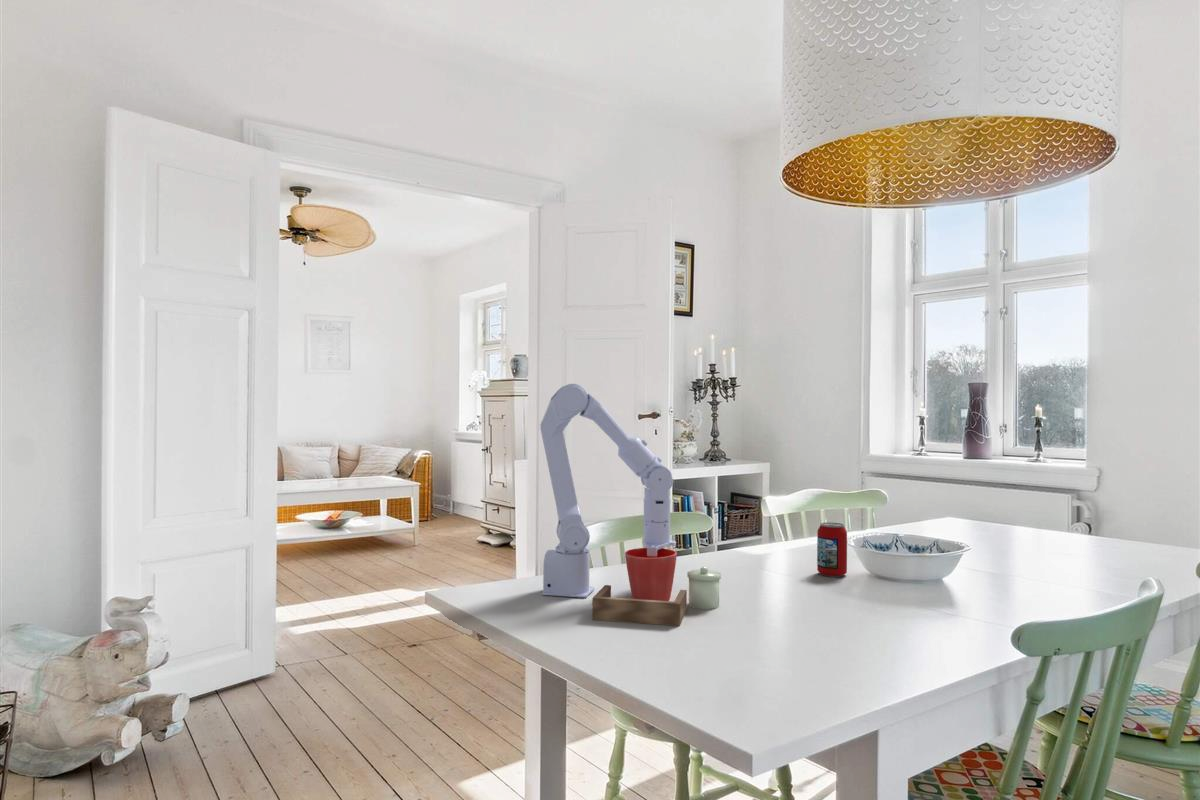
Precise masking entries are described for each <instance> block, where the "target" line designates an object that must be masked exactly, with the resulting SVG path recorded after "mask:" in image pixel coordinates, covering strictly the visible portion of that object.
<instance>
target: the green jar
mask: <svg viewBox="0 0 1200 800" xmlns="http://www.w3.org/2000/svg"><path fill="white" fill-rule="evenodd" d="M686 574H687V575H686V576H687V578H688V606H689V608H692V609H697V610H715V609H718V608H719V607H720V580H721V579H722V574H721V572H719V571H717V570H710V569H708V567H706V566H701V567H700V569H694V570H689V571H687V573H686Z"/></svg>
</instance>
